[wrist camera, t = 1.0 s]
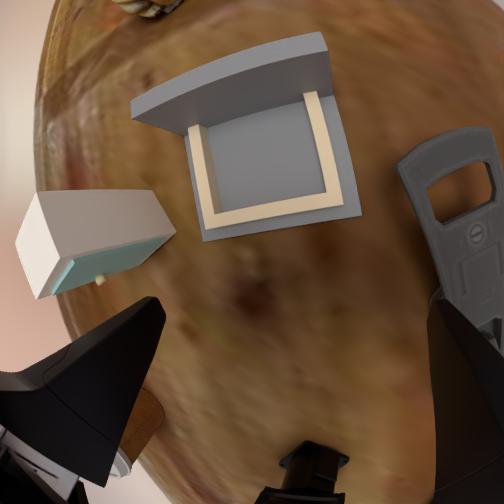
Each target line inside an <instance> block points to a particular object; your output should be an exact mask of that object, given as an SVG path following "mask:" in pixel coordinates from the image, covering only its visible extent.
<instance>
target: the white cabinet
mask: <svg viewBox="0 0 504 504" xmlns="http://www.w3.org/2000/svg"><path fill="white" fill-rule="evenodd" d="M176 232H177V231H176V230H175V228H174V226H173V225H172V223H171V221H170V220H169V218H168V216H167V215H166V213H165V211H164V210H163V208H162V206H161V205H160V203H159V201H158V199H157V198H156V196H155V194H154V193H153V191H152V190H66V191H43V192H36V193H35V196H34V198H33V200H32V202H31V204H30V207H29V209H28V211H27V214H26V216H25V218H24V221H23V223H22V226H21V229H20V231H19V234H18V236H17V239H16V242H15V245H16V248H17V251H18V254H19V257H20V260H21V263H22V266H23V268H24V271H25V274H26V276H27V279H28V282H29V284H30V286H31V289H32V291H33V294H34V296H35V298H36V300H38V299H41V298H43V297H46V296H49V295H56V294H59V293H62V292H64V291H67V290H70V289H73V288H76V287H79V286H81V285H84V284H87V283H90V282H93V281H96V282H97V284H98V285H102V284H104V283H105V282H106V281H107V280H108V279H107V276H110V275H113V274H116V273H119V272H122V271H125V270H128V269H131V268H134V267H137V266H138V265H140V264H141V263H142V262H144V261H145V260H146V259H147V258H148V257H149V256H150V255H151V254H152V253H154V252H155V251H156V250H157V249H158V248H159V247H160V246H161V245H163V244H164V243H165V242H166V241H167V240H168V239H169V238H170V237H172V236H173V235H174V234H175V233H176Z"/></svg>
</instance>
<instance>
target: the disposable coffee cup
mask: <svg viewBox="0 0 504 504" xmlns="http://www.w3.org/2000/svg"><path fill="white" fill-rule="evenodd" d="M164 417H165V414H164V410H163V408H162V406H161V405H160V403H159V402H158V401H157V399H156V398H155V397H154V396H153V395H151V394H150V393H149V392H147V391H146V390H144V389H142V388H141V389H140V392H139V394H138V397H137V399H136V402H135V405H134V407H133V410H132V412H131V415H130V418H129V420H128V423H127V426H126V428H125V431H124V434H123V436H122V439H121V442H120V445H119V448H118V451H117V454H116V456H115V459H114V462H113V465H112V468H111V471H110V474H109V476H111V477H113V478H116V479H120V478H121V477H123V476H128V475H130V473H131V469H132V465H133V463H134V462H135V461H136V459H137V458H138V456H139V455H140V453H141V452H142V450H143V449H144V447H145V446H146V444H147V443H148V441H149V440H150V438H151V437H152V435H153V434H154V432H155V431H156V429H157V428H158V426H159V425H160V423H161V422H162V420H163V419H164Z"/></svg>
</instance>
